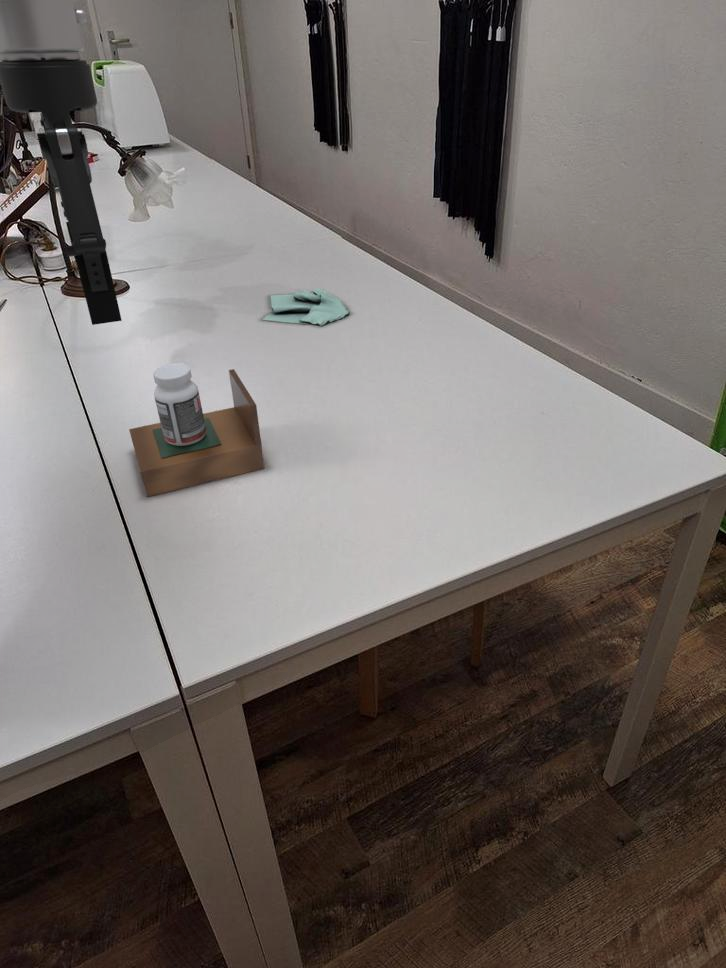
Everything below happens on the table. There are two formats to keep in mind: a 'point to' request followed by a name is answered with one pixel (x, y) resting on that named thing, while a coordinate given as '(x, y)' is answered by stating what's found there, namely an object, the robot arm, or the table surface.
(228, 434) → the shelf
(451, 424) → the table surface
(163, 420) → the pill bottle
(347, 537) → the table surface
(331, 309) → the cloth
